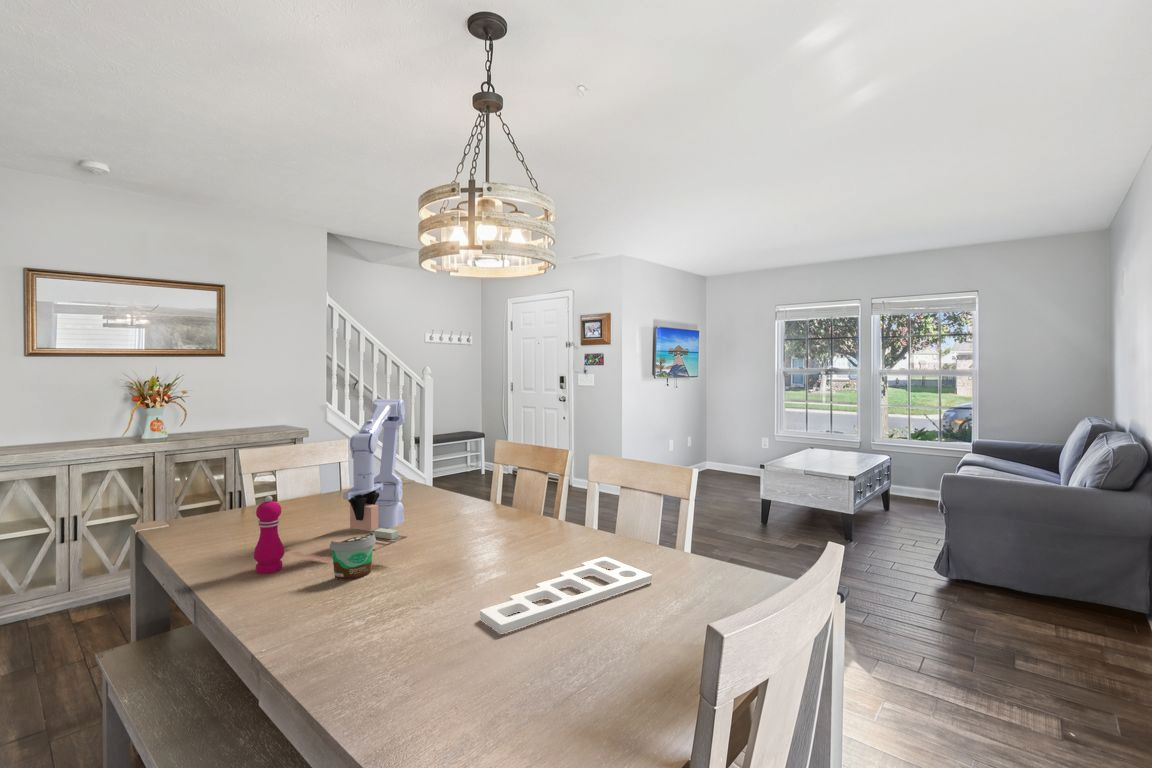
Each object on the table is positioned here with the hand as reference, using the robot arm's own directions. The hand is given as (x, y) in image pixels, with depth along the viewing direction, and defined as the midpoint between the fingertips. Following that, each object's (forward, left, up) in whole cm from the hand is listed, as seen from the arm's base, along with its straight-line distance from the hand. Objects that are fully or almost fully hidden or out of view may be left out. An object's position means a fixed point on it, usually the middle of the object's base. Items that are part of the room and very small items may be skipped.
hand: (363, 518), depth 167 cm
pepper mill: (+23, -11, -10) cm, 27 cm away
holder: (+7, +68, -10) cm, 69 cm away
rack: (-4, +1, -9) cm, 10 cm away
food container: (+17, +14, -10) cm, 24 cm away
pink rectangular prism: (0, 0, -3) cm, 3 cm away
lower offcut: (-9, +1, -10) cm, 13 cm away
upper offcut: (-9, +1, -8) cm, 12 cm away
